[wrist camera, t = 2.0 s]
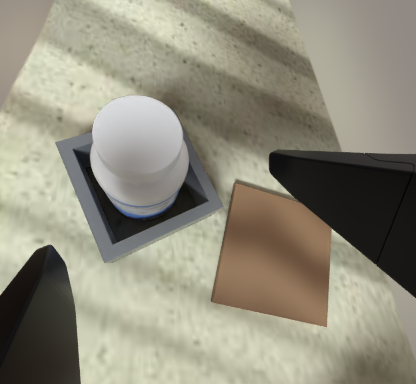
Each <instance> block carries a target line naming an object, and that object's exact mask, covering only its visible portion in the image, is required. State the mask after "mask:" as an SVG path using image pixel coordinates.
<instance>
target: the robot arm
mask: <svg viewBox="0 0 416 384" xmlns="http://www.w3.org/2000/svg"><path fill="white" fill-rule="evenodd" d="M269 171H270V173H271V175H272V176H273V177H274V178H275V179H276V180H277V181H278V182H279V183H280V184H281V185H282V186H283V187H284V188H285V189H286V190H287V191H288V192H289V193H290V194H291V195H292V196H293V197H295V198H296V199H297V200H298V201H299V202H301V203H302V204H303V205H304V206H305V207H307V208H308V209H309V210H310V211H311V212H313V213H314V214H315V215H316V216H317V217H319V218H320V219H321V220H322V221H323V222H325V223H326V224H327V225H328V226H330V227H331V228H332V229H333V230H334V231H336V232H337V233H338V234H339V235H340V236H342V237H343V238H344V239H345V240H346V241H348V242H349V243H350V244H351V245H352V246H354V247H355V248H356V249H357V250H359V251H360V252H361V253H362V254H363V255H365V256H366V257H367V258H368V259H369V260H371V261H372V262H373V263H374V264H377V266H378V267H379V268H380V269H381V270H382V271H384V272H385V273H386V274H387V275H389V276H390V277H391V278H392V279H393V280H395V281H396V282H397V283H398V284H399V285H401V286H402V287H403V288H404V289H405V290H407V291H408V292H409V293H410V294H411V295H413V296H414V297H415V298H416V154H377V153H376V154H375V153H365V154H364V153H350V152H325V151H300V150H276V151H273V152H271V153H270V155H269ZM0 384H81V381H80V367H79V353H78V339H77V325H76V312H75V304H74V299H73V294H72V290H71V285H70V281H69V276H68V271H67V267H66V264H65V262H64V260H63V259H62V258H61V256H60V255H59V254H58V252H57V251H56V249H55V248H54V247H53V246H52V245H47V246H44V247H42V248H39V249H37V250H36V251H35V252H34V253H33V255H32V256H31V257H30V258H29V260H28V261H27V262H26V263H25V265H24V266H23V267H22V268H21V270H20V271H19V272H18V274H17V275H16V276H15V277H14V279H13V280H12V281H11V282H10V284H9V285H8V286H7V288H6V289H5V290H4V291H3V293H2V294H1V295H0Z"/></svg>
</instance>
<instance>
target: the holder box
mask: <svg viewBox="0 0 416 384" xmlns="http://www.w3.org/2000/svg"><path fill="white" fill-rule="evenodd" d="M171 110H172V111H173V112H174V113H175V115H176V116H177V114H176V112H175V110H174V108H173V109H171ZM177 118H178V116H177ZM178 120H179V118H178ZM179 121H180V120H179ZM180 124H181V122H180ZM181 127H182V131H183V140H184V141H185V144H186V146H187V150H188V155H189V166H188V171H187V174H186V177H185V179H184V181H185V183H186V185H187V187H188V189H189V191H190V193H191V195H192V197H193V199H194V201H195V203H196V205H197V207H195V208H193V209H191V210H188V211H186V212H184V213H182V214H180V215H177V216H175V217H173V218H171V219H169V220H166V221H164V222H162V223H160V224H157V225H155V226H153V227H151V228H149V229H146V230H144V231H142V232H140V233H138V234H135V235H133V236H131V237H129V238H127V239H124V240H122V241H120V242H118V243H117V242H116V240H115V238H114V235H113V233H112V231H111V228H110V226H109V223H108V221H107V219H106V216H105V214H104V212H103V209H102V207H101V205H100V202H99V200H98V197H97V195H96V193H95V190H94V188H93V186H92V183H91V181H90V178H89V176H88V174H87V171H86V169H85V168H87V167H90V166H91V161H90V153H91V147H92V144H93V137H92V132H90V133H86V134H83V135H79V136H76V137H72V138H69V139H65V140H62V141H58V142H55V143H56V146H57V148H58V150H59V153H60V155H61V158H62V160H63V163H64V165H65V168H66V170H67V173H68V175H69V177H70V180H71V182H72V185H73V187H74V190H75V192H76V195H77V197H78V199H79V202H80V204H81V207H82V209H83V212H84V214H85V217H86V219H87V222H88V224H89V226H90V229H91V231H92V234H93V236H94V239H95V241H96V244H97V246H98V248H99V251H100V253H101V256H102V258H103V261H104V263H113V262H115V261H117V260H119V259H121V258H123V257H125V256H127V255H130V254H132V253H134V252H136V251H138V250H140V249H142V248H144V247H146V246H148V245H150V244H153V243H155V242H157V241H159V240H161V239H163V238H165V237H167V236H169V235H171V234H173V233H176V232H178V231H180V230H182V229H184V228H186V227H188V226H190V225H192V224H194V223H196V222H199V221H201V220H203V219H205V218H207V217H209V216H211V215H213V214H214V213H215V212H217V211H218V210H219V209H221V208H222V207H223V205H222V203H221V201H220V199H219V197H218V195H217V193H216V191H215V189H214V187H213V185H212V183H211V181H210V179H209V177H208V175H207V173H206V171H205V169H204V167H203V165H202V163H201V161H200V159H199V157H198V155H197V153H196V152H195V150H194V148H193V146H192V144H191V142H190V140H189V138H188V136H187V134H186V132H185V130H184V128H183V126H182V124H181Z"/></svg>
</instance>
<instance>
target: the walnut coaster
mask: <svg viewBox="0 0 416 384" xmlns="http://www.w3.org/2000/svg"><path fill="white" fill-rule="evenodd" d="M330 249H331V227H330V226H328V225H327V224H326V223H325V222H323V221H322V220H321V219H320V218H319V217H317V216H316V215H315V214H314V213H313V212H311V211H310V210H309V209H308V208H307V207H305V206H304V205H303V204H302V203H300V202H296V201H293V200H290V199H287V198H283V197H280V196H277V195H273V194H270V193H267V192H264V191H260V190H257V189H254V188H251V187H247V186H244V185H241V184H238V183H236V184H234V187H233V192H232V197H231V202H230V207H229V212H228V217H227V222H226V227H225V232H224V237H223V242H222V247H221V252H220V257H219V263H218V268H217V273H216V278H215V283H214V288H213V293H212V298H211V302H213V303H218V304H223V305H227V306H232V307H236V308H241V309H246V310H250V311H255V312H260V313H264V314H269V315H273V316H278V317H283V318H287V319H292V320H297V321H301V322H306V323H310V324H315V325H320V326H324V327H327V313H328V292H329V271H330Z"/></svg>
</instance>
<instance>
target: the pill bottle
mask: <svg viewBox="0 0 416 384" xmlns="http://www.w3.org/2000/svg"><path fill="white" fill-rule="evenodd" d="M92 137H93V144H92V147H91V153H90V161H91V167H92V171H93V173H94V176H95V178H96V180H97V181H98V183H99V185H100V186H101V187H102V189H103V190H104V192H105V193H106V195H107V196H108V197H109V199H110V200H111V202H112V203H113V205H114V206H115V208H116V209H117V210H118V211H119V212H121V213H122V214H123V215H125V216H126V217H129V218H131V219H134V220H139V221H148V220H153V219H156V218H158V217H160V216H162V215H163V214H165V213H166V212H167V211H168V210H169V209H170V208H171V207H172V205H173V204H174V201H175V199H176V197H177V194H178V192H179V190H180V188H181V186H182V184H183V182H184V179H185V177H186V174H187V171H188V166H189V155H188V150H187V146H186V144H185V141H184V140H183V131H182V127H181V124H180V121H179V120H178V118H177V116H176V115H175V113H174V112H173V111H172V110H171V109H170V108H169V107H168V106H166V105H165V104H163V103H162V102H160V101H158V100H156V99H154V98H151V97H147V96H141V95H128V96H123V97H119V98H117V99H114V100H112V101H111V102H109V103H107V104H106V105H105V106H104V107H103V108H102V109H101V110H100V111H99V113H98V114H97V116H96V118H95V121H94V123H93V129H92Z"/></svg>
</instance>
